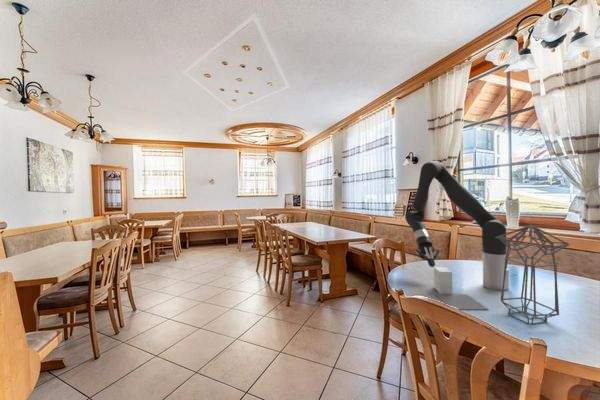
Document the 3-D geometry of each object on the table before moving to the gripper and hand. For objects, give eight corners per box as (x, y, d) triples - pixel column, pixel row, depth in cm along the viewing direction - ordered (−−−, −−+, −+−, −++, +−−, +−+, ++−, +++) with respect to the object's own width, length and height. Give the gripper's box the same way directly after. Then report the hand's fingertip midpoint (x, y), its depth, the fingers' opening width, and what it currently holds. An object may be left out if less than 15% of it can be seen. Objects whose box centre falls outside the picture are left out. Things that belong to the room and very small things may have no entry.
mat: (466, 295, 115) (466, 294, 115) (488, 310, 100) (488, 309, 100) (435, 294, 116) (435, 294, 116) (452, 309, 101) (452, 308, 101)
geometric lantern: (524, 307, 102) (527, 222, 100) (570, 329, 86) (574, 228, 85) (490, 310, 100) (492, 223, 98) (530, 332, 84) (534, 229, 83)
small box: (452, 294, 116) (452, 272, 116) (439, 293, 117) (439, 271, 117) (446, 288, 124) (446, 267, 124) (434, 287, 125) (433, 266, 125)
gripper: (412, 235, 141) (421, 262, 129) (436, 235, 140) (448, 262, 128) (409, 242, 146) (417, 269, 134) (432, 242, 145) (443, 269, 133)
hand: (432, 266), depth 131 cm, fingers closed
